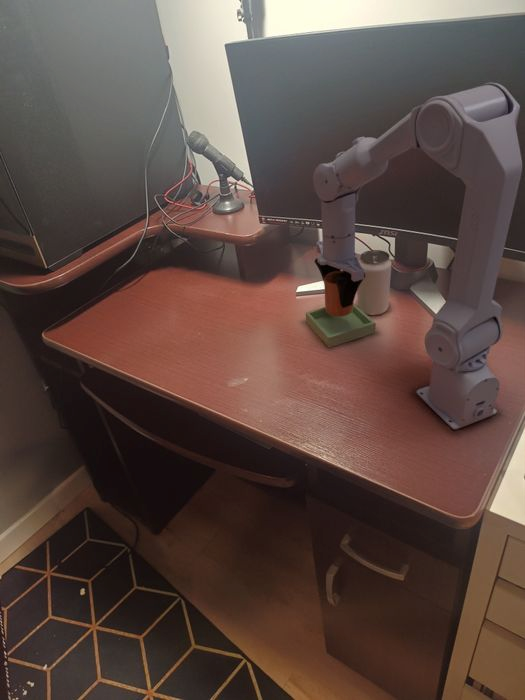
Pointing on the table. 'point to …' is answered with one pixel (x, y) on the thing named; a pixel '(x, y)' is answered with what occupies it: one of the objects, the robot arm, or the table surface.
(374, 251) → the can
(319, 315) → the tray
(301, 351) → the table surface
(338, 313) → the cup
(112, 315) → the table surface
